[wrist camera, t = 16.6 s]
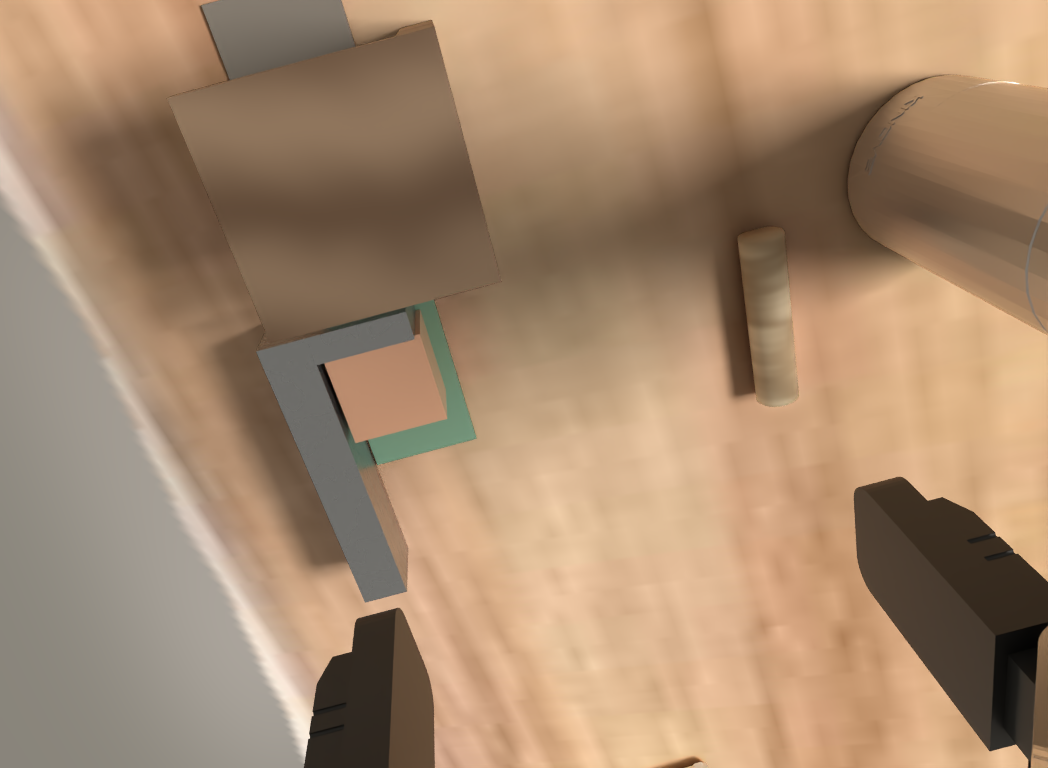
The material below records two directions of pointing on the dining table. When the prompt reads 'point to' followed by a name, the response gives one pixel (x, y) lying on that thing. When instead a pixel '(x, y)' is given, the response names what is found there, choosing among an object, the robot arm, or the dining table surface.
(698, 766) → the white segmented tray
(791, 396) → the dowel
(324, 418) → the crook
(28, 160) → the dining table surface
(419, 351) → the block
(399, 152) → the brown wooden box
